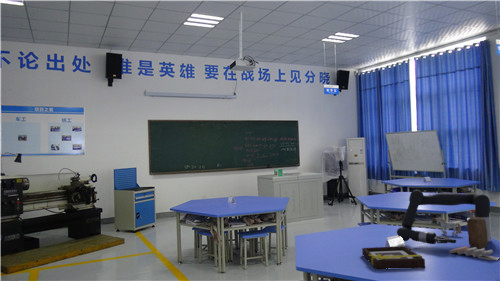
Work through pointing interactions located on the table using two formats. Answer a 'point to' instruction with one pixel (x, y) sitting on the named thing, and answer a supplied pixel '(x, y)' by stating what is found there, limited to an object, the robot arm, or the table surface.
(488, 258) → the domino
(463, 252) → the domino
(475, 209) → the robot arm
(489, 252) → the domino
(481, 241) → the block
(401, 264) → the picture frame
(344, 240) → the table surface
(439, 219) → the unicorn figurine
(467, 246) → the domino
